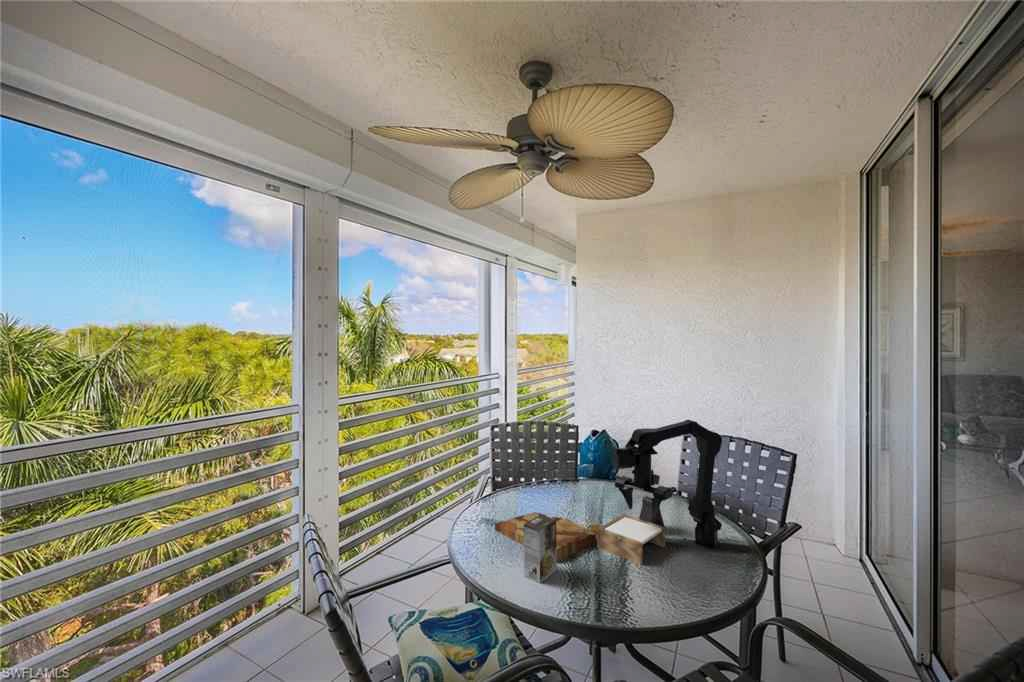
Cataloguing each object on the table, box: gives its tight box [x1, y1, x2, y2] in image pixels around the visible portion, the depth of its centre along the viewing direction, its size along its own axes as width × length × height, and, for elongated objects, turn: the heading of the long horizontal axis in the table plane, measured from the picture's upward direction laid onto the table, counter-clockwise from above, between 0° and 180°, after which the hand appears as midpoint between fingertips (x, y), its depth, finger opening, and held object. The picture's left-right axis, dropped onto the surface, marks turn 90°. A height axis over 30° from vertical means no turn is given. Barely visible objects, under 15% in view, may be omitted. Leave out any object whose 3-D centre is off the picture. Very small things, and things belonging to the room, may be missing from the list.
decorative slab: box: [494, 511, 597, 563], centre depth 159 cm, size 32×22×5 cm
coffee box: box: [523, 515, 558, 584], centre depth 134 cm, size 9×6×16 cm
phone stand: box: [638, 495, 667, 532], centre depth 164 cm, size 9×6×12 cm, turn 117°
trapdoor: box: [604, 517, 662, 546], centre depth 150 cm, size 14×14×3 cm
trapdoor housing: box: [596, 514, 666, 566], centre depth 151 cm, size 16×18×6 cm
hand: (642, 512), depth 149 cm, fingers open, 8 cm apart
